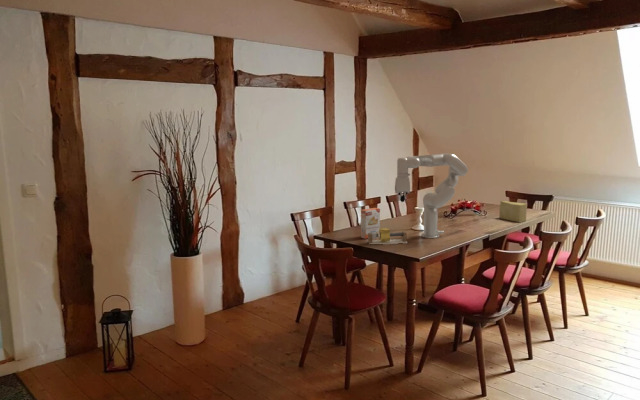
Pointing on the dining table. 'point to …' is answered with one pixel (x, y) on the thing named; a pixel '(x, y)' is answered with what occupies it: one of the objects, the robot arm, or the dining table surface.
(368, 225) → the cracker box
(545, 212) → the dining table surface
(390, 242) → the cord rail
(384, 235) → the yellow block
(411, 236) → the dining table surface
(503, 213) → the cheese
